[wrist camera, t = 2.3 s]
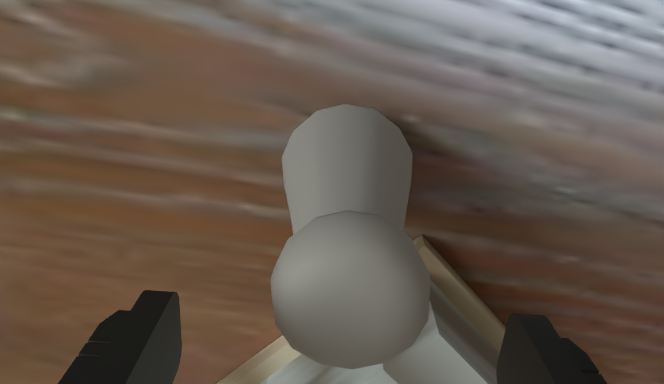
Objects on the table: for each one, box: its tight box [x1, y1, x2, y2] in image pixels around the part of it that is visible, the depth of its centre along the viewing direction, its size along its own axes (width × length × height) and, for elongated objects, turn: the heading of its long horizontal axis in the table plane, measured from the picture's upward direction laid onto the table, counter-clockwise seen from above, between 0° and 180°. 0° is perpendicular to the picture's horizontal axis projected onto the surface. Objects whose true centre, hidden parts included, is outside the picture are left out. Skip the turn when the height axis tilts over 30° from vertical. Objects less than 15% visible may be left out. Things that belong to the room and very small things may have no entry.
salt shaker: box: [271, 104, 430, 370], centre depth 18 cm, size 6×6×13 cm
